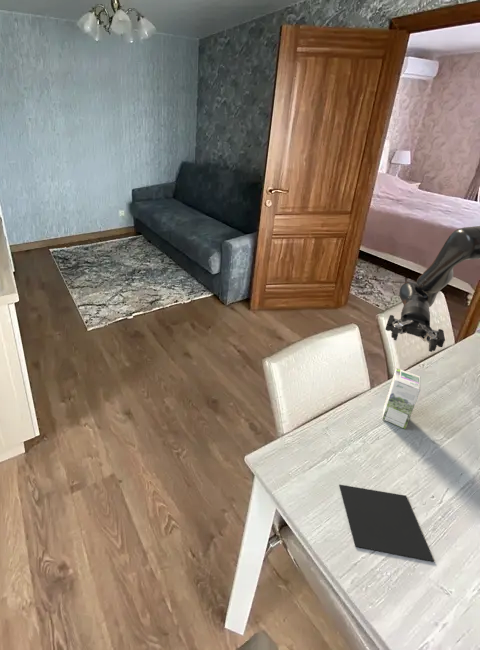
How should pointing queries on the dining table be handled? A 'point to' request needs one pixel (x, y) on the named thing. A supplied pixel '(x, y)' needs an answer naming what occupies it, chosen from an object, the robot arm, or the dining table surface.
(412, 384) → the syrup box
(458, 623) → the dining table surface
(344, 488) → the plate
